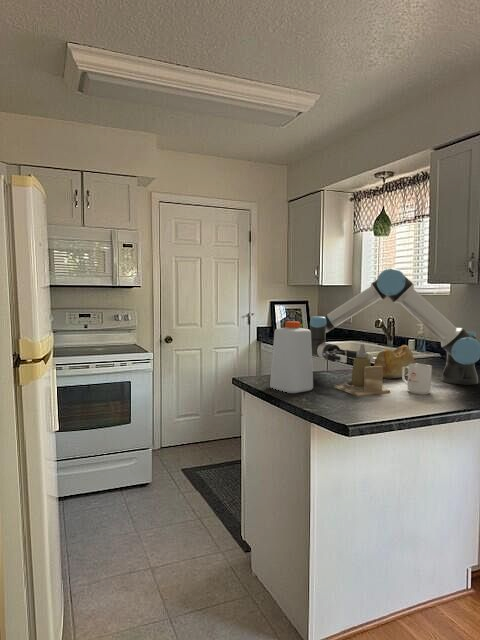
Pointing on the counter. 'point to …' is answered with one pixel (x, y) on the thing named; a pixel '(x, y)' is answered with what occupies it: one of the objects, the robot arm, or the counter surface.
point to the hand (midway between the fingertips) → (359, 358)
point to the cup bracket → (366, 383)
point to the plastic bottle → (292, 359)
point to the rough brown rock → (394, 361)
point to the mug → (418, 378)
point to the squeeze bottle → (360, 367)
